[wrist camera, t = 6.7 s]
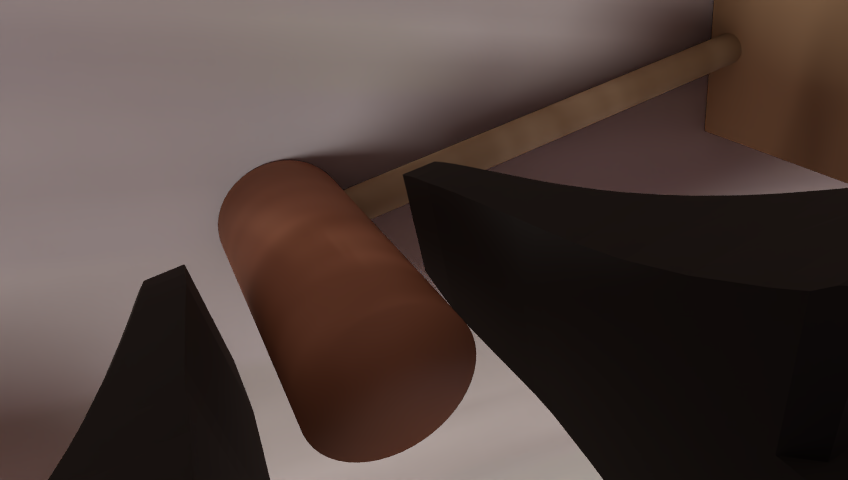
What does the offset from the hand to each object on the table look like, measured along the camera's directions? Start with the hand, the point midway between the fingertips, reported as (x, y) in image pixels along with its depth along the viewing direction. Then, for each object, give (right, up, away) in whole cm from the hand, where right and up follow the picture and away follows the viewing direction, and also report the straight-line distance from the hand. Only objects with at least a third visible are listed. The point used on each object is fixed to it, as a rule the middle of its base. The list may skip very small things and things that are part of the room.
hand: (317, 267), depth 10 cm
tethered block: (+5, +4, +3) cm, 7 cm away
